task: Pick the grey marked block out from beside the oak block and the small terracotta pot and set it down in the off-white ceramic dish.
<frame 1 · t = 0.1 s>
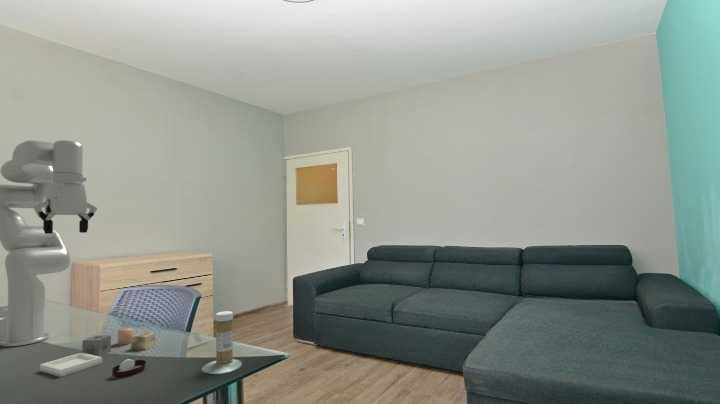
hand: (66, 232, 119), 37 cm above the table, tool pointing down, fingers open, 9 cm apart
watch: (129, 374, 98), on the table
oak block: (143, 347, 119), on the table
sprinkles bottle: (224, 362, 104), on the table
grey marked block: (96, 355, 113), on the table
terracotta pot: (125, 343, 123), on the table
dish: (71, 367, 102), on the table
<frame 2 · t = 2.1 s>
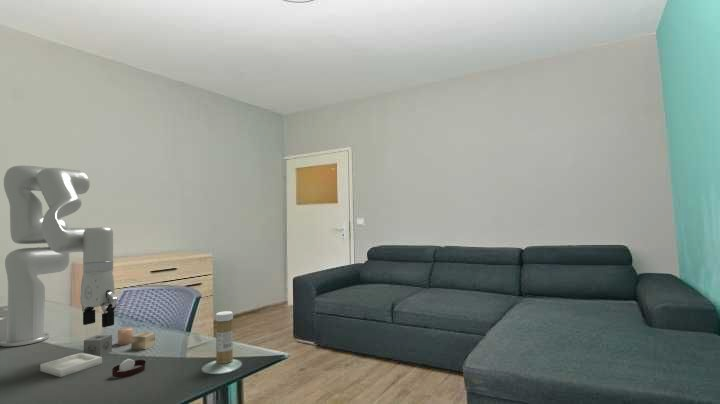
hand: (98, 325, 113), 9 cm above the table, tool pointing down, fingers open, 9 cm apart
nothing on the table moved.
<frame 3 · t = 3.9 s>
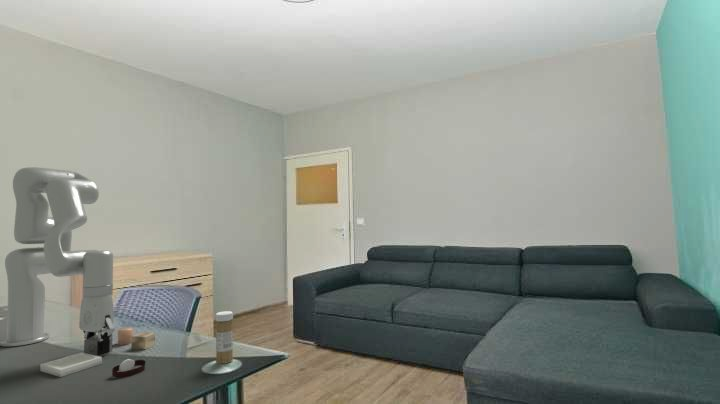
hand: (97, 351, 113), 1 cm above the table, tool pointing down, fingers closed on grey marked block, 5 cm apart
grey marked block: (98, 354, 113), on the table, touching gripper
everything else where it was.
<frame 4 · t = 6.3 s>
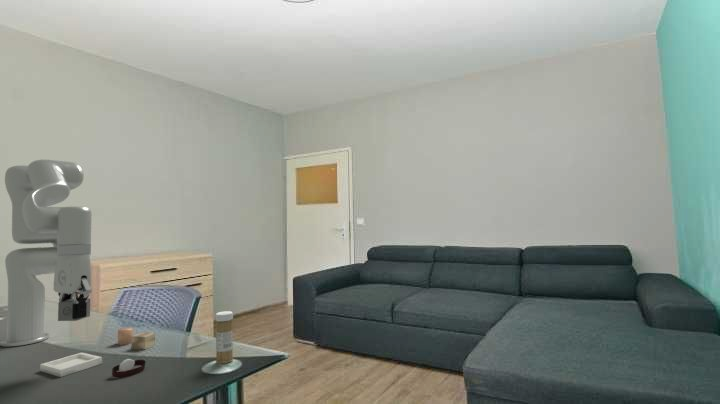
hand: (72, 316, 103), 14 cm above the table, tool pointing down, fingers closed on grey marked block, 5 cm apart
grey marked block: (74, 319, 104), point 13 cm above the table, touching gripper
everything else where it was.
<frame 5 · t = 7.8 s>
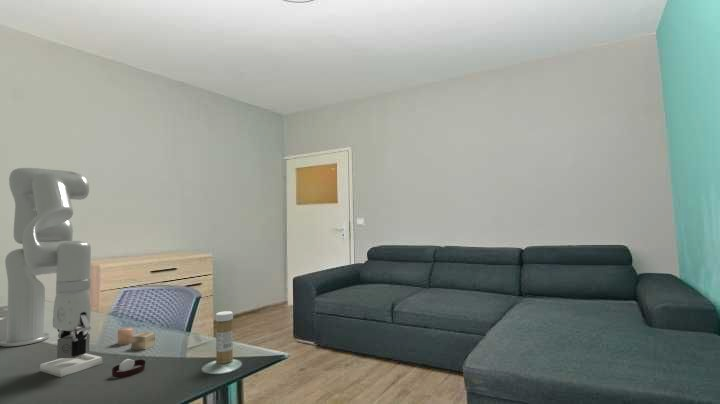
hand: (72, 352, 103), 4 cm above the table, tool pointing down, fingers closed on grey marked block, 5 cm apart
grey marked block: (73, 355, 103), point 3 cm above the table, touching gripper
everything else where it was.
when the fingers open (2 cm above the table, at t = 9.0 s): grey marked block stays where it is, resting on dish.
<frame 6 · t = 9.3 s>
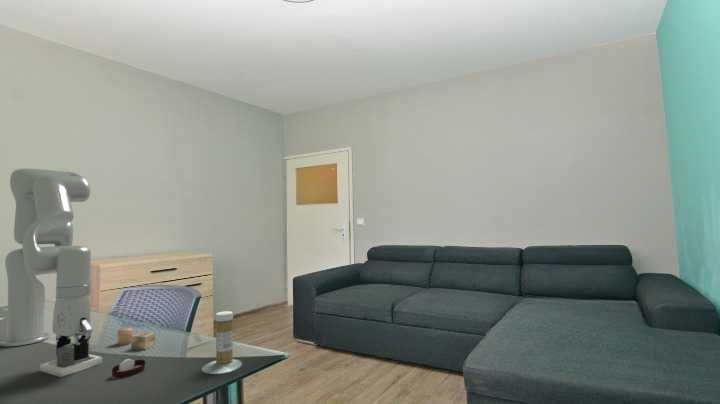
hand: (72, 356, 103), 3 cm above the table, tool pointing down, fingers open, 8 cm apart
grey marked block: (73, 364, 103), point 1 cm above the table, touching dish
everything else where it was.
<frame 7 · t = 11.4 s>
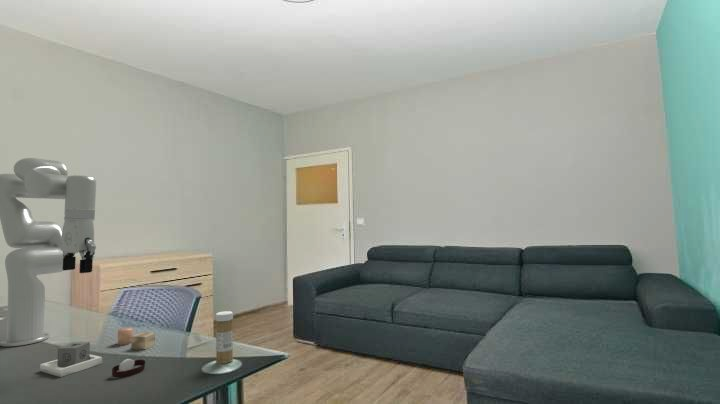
hand: (77, 271, 115), 25 cm above the table, tool pointing down, fingers open, 9 cm apart
nothing on the table moved.
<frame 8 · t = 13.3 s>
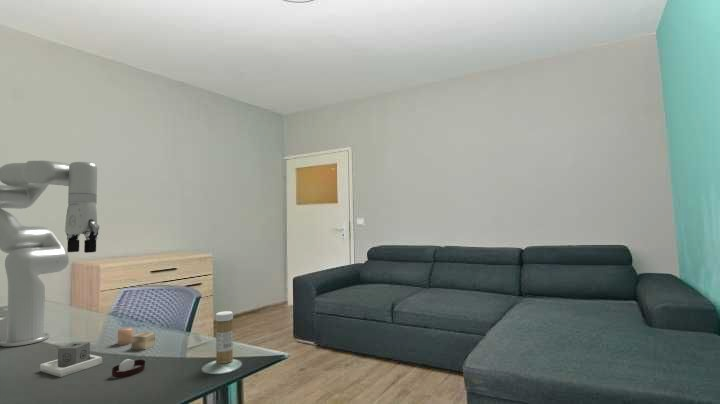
hand: (81, 252, 122), 30 cm above the table, tool pointing down, fingers open, 9 cm apart
nothing on the table moved.
at the end: grey marked block inside the target area on the dish (0.5 cm from its centre), point 0.6 cm above the dish's base; the gripper is holding nothing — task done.
